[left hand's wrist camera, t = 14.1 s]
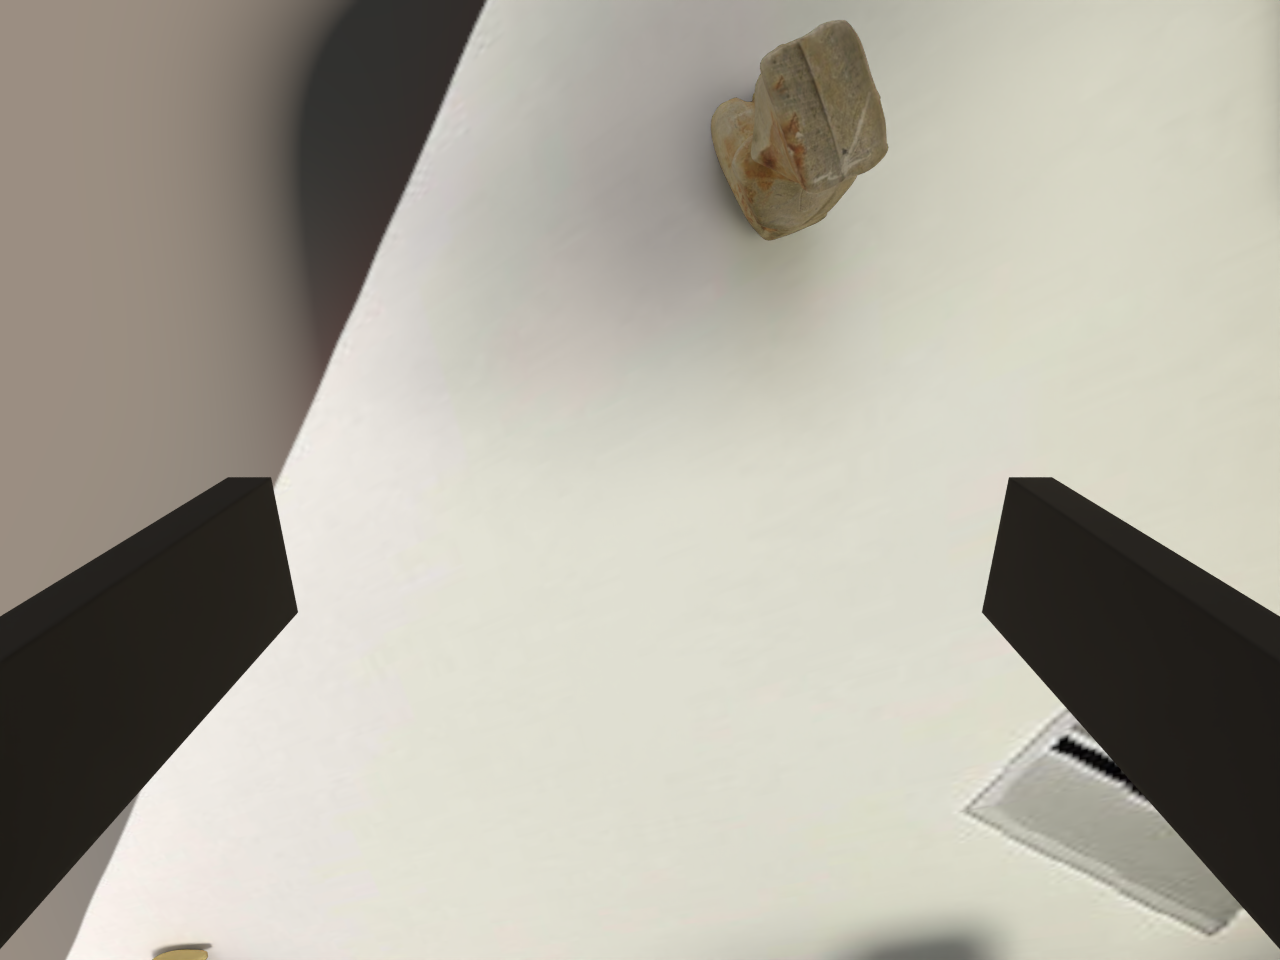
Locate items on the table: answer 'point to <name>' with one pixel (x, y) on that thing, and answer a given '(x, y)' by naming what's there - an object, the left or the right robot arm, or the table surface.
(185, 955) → the toy gun
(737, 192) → the sculpture
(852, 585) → the table surface
